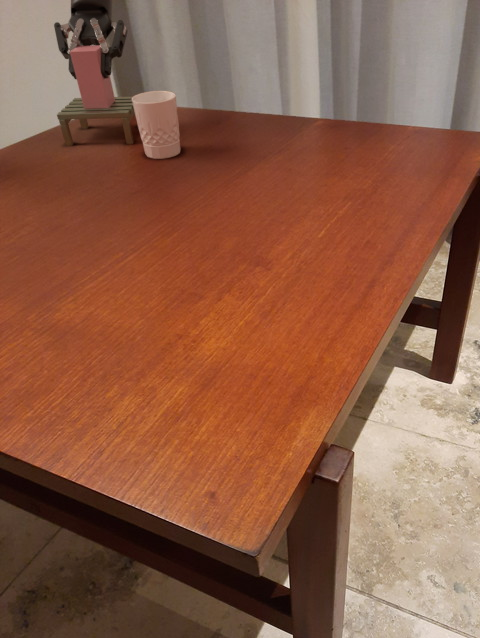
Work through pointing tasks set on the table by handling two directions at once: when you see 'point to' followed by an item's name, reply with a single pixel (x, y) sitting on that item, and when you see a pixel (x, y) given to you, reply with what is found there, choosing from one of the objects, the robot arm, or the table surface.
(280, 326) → the table surface
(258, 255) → the table surface
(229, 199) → the table surface
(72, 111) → the rack
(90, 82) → the pink box
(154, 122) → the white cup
